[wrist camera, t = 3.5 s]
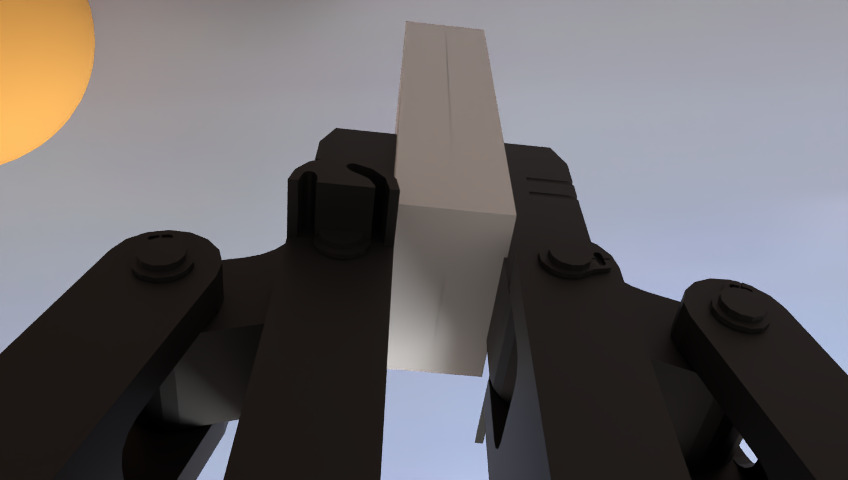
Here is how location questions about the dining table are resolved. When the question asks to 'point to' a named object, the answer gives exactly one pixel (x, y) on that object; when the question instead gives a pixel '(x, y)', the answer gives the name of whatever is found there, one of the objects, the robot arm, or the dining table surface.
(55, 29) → the ball
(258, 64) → the dining table surface
